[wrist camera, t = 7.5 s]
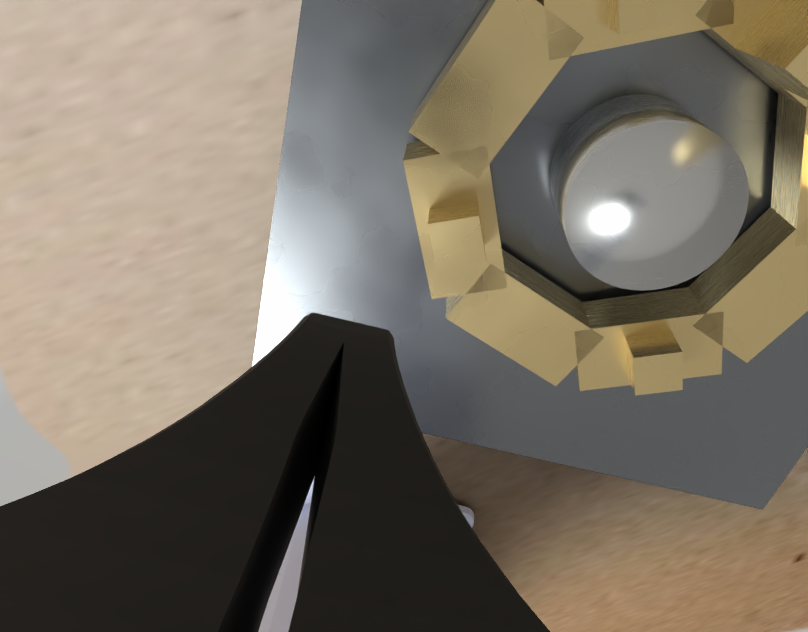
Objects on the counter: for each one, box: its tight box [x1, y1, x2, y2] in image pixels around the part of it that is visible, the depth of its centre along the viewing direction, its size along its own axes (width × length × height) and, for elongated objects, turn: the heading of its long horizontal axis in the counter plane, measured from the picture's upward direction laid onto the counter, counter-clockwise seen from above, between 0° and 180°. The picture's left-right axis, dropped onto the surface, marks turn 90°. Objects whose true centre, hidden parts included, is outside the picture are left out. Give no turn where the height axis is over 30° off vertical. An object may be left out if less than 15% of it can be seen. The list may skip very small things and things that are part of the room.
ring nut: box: [403, 0, 808, 396], centre depth 14 cm, size 15×11×4 cm
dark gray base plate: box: [252, 0, 808, 509], centre depth 17 cm, size 20×18×4 cm
